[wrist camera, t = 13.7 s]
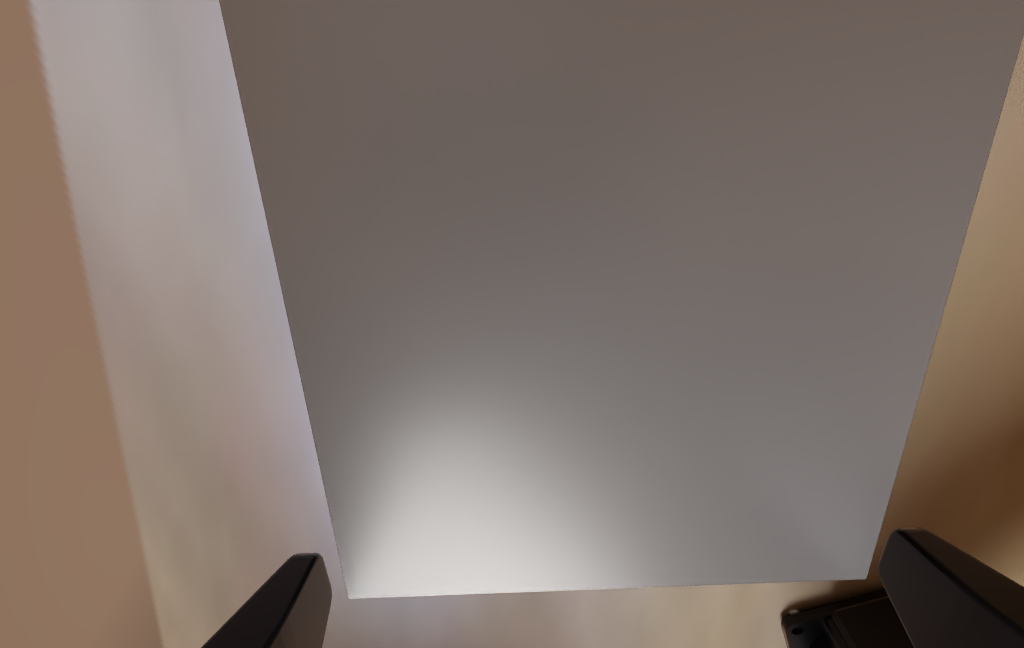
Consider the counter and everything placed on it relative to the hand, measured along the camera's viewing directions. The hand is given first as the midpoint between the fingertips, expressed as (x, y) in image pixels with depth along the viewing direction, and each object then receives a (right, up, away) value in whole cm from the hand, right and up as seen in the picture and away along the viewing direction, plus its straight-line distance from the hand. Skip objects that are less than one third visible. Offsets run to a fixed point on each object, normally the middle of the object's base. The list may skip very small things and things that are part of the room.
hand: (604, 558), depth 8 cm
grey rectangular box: (0, +7, +6) cm, 9 cm away
